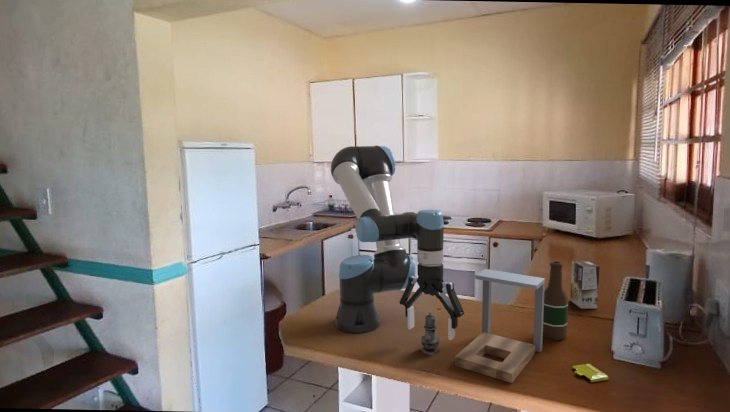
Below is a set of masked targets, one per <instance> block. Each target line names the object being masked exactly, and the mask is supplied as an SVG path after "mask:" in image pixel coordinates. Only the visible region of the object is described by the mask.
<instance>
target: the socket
mask: <svg viewBox="0 0 730 412" xmlns="http://www.w3.org/2000/svg"><path fill="white" fill-rule="evenodd" d="M486 354H487V355H491V356H494V357H497V358H501V359H504V360H503V361H497V360H494V359H490V358H487V357H484V356H485V355H486ZM535 354H536V351H535V345H533V343H528V342H524V341H520V340H517V339H513V338H508V337H504V336H500V335H497V334H493V333H490V334H489V333H485V332H482V331H481V333H480V334H479V335H478V336H477V337H475V338H474V339H473V340H472V341H471V342H470V343H469V344H467V345H466V346H465V347H464V348H463V349H462V350H460V352H458V353H457V354H456V355H455V356H454V366H455V367H459V368H462V369H465V370H469V371H472V372H475V373H477V374H481V375H484V376H488V377H491V378H495V379H496V380H500V381H504V382H506V383H511V384H512V383H513V382H514V381H515V379H516V378H517V377H518V376H519V375H520V373H521V372H522V371H523V370H524V368H525V367H526V366H527V365H528V363H529V362H530V361H531V359H532V358H533V357H534V356H535Z"/></svg>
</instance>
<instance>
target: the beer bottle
mask: <svg viewBox="0 0 730 412" xmlns="http://www.w3.org/2000/svg"><path fill="white" fill-rule="evenodd" d="M549 266H550V269H549V271H550V272H549V279H548V284H547V287H546V288H545V290H544V315H543V338H546V339H549V340H551V341H563V339H565V338H566V337H567V333H568V316H569V315H568V314H569V311H568V310H569V297H568V294H567V292H566V291H565V289H564V287H563V285H564V284H563V267H564V265H563V263H562V262H560V261H551V262H550V263H549Z"/></svg>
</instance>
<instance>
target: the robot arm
mask: <svg viewBox="0 0 730 412" xmlns="http://www.w3.org/2000/svg"><path fill="white" fill-rule="evenodd" d="M395 172H396V160H395V155H394V154H393V152H392V150H391V149H390V148H389V147H388V146H385V145H367V146H365V145H362V146H361V145H360V146H354V145H351V146H347V147H343V148H342V149H340V150H339V151H337V153H336V154H335V155H334V156H333V158H332V160H331V164H330V173H331V176H332V179H333V180H334V182H335V183H336V184H337V185H339V186H340V188H341V190H342V192H343V194H344V196H345V198H346V200H347V202H348V203H349V205H350V207H351V209H352V211H353V213H354V215H355V217H356V218H357V219H356V221H355V233H356V238H357V240H358V241H360V242H362V243H375V246H376V247H375V248H376V250H375V252H374V253H373V256H372V255H368V254H358V255H353V256H349V257H347V258H345V259H343V260H342V261H341V262H340V264H339V269H338V270H339V273H338V277H339V300H340V301H339V306H338V310H337V313H336V316H335V327H336V328H337V329H338V330H340V331H342V332H345V333H352V334H353V333H354V334H361V333H367V332H372V331H373V330H376V329H377V328H378V327H380V315H379V314H378V311H377V307H376V305H375V294H377V293H378V294H379V293H385V292H393V291H401V290H404V289H405V290H404V292H403V294H402V295H401V298H400V300H399V305H401V306H402V305H403V306H404V307H405V309H404V310H405V318H407V330H409V331H410V330H412V329H413V328H415V305H413V304H414V303H415V302H416V301H417V300H418V299H419V297H420V296H421V295H422V294H424V295H430V296H432V297H434V296H435V297H436V299H438V300H439V301H440V303H441V304H442V305H443V308H444V309H445V310H446V311H447V313H448V315H449V317H447V318H448V319H447V320H448V321H447V323H448V325H447V326H448V327H447V329H448V330H447V335H448V336H447V338H448V340H449V341H452V340H453V339H455V337H456V329H457V328H458V327H459V326H458V324H459V323H458V321H459V318H461V317H462V316H464V315H465V312H464V308H463V307H462V304H461V301H460V300H459V297H458V295H457V293H456V290H455V284H454V282H453V281H450V282H446V281H444V264H443V263H444V226H445V223H444V214H443V211H441V210H438V209H422V210H419V211H417V212H414V211H405V212H403V213H400V214H395V209H394V204H393V199H392V193H391V188H390V182H391V181H392V179H393V176H394V174H395ZM404 239H406V240H407V239H415V240H416V241H417V242H416V244H417V245H416V247H417V249H416V251H417V254H416V255H417V262H418V263H417V264H416V262H415V259H414V257H413V256H412V255H410V254H407V250H406V248H404V247H403V246H402V245H401V241H400V240H404ZM416 265H417V268H416ZM416 271H417V272H416ZM416 273H417V276H416ZM416 284H417V285H418V288H417V289H416V290H415V292H414V293H413V294H412V292H413V289H414V287H415V285H416ZM443 288H444V289H443ZM445 291H446V292H445ZM446 293H447V295H446ZM411 294H412V295H411ZM410 296H411V297H410Z"/></svg>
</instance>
